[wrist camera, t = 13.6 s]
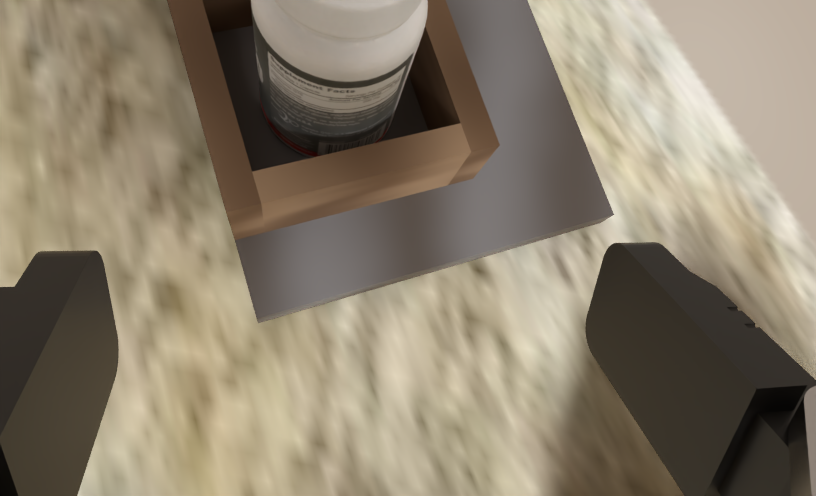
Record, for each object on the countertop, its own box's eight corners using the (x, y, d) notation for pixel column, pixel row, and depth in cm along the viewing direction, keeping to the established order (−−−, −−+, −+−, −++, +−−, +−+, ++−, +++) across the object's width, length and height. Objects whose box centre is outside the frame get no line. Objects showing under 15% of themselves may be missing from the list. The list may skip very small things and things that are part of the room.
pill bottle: (293, 24, 23) (294, -186, 15) (412, 76, 23) (475, -101, 15) (237, 131, 21) (205, -37, 13) (364, 185, 22) (407, 53, 14)
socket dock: (258, 322, 21) (251, 303, 17) (159, -32, 23) (134, -118, 20) (600, 222, 24) (659, 187, 20) (480, -79, 27) (512, -160, 23)
